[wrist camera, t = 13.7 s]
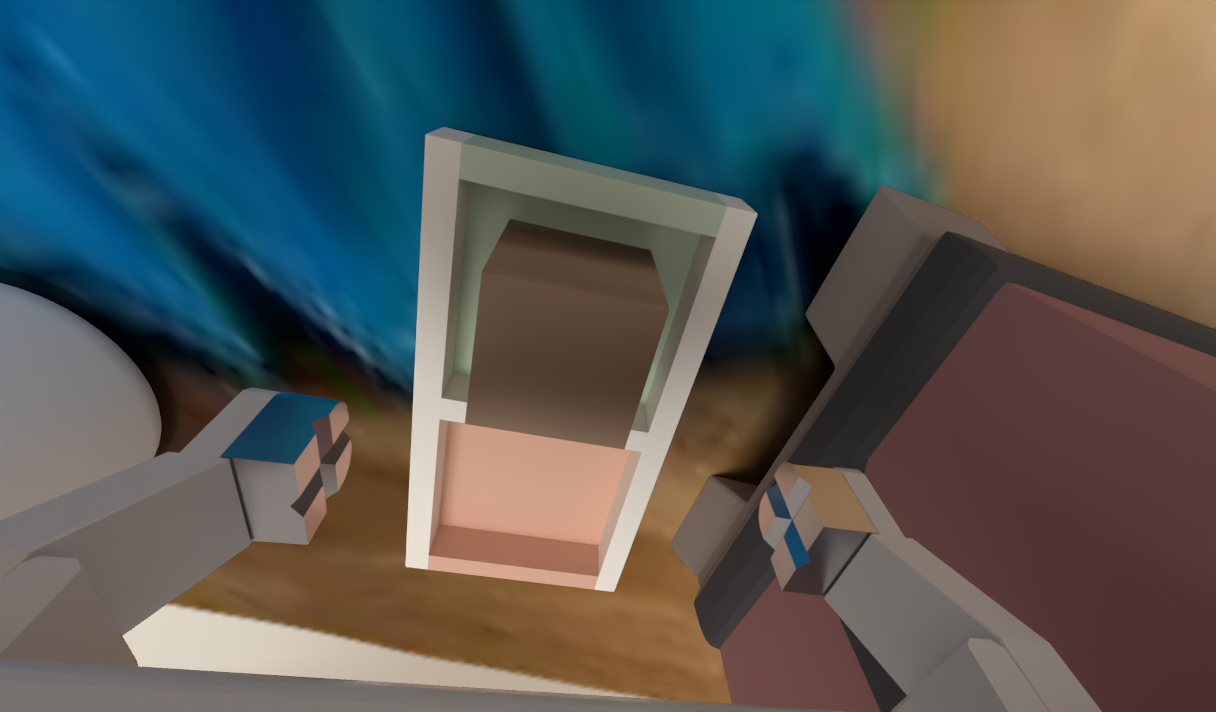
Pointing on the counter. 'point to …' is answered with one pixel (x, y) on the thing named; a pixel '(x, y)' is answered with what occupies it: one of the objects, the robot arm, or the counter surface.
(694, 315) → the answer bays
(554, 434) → the walnut block
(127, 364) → the cup
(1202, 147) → the counter surface
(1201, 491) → the toaster
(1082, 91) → the counter surface
